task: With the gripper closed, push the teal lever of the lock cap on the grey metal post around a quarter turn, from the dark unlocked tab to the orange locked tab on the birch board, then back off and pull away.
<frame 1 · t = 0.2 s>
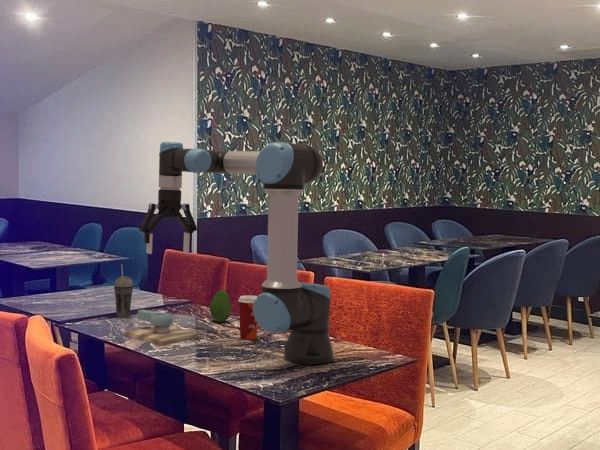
hand: (167, 252, 230), 28 cm above the table, fingers open, 13 cm apart
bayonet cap: (154, 317, 233), point 6 cm above the table, hinge at 0.0°
lock base: (161, 336, 231), on the table
avocado: (220, 322, 258), on the table
beverage cup: (123, 317, 259), on the table
paper cup: (248, 338, 234), on the table
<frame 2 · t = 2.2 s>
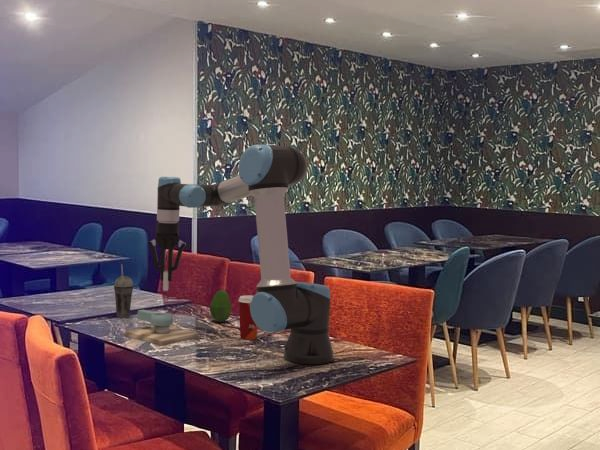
hand: (165, 290, 238), 14 cm above the table, fingers closed
nothing on the table moved.
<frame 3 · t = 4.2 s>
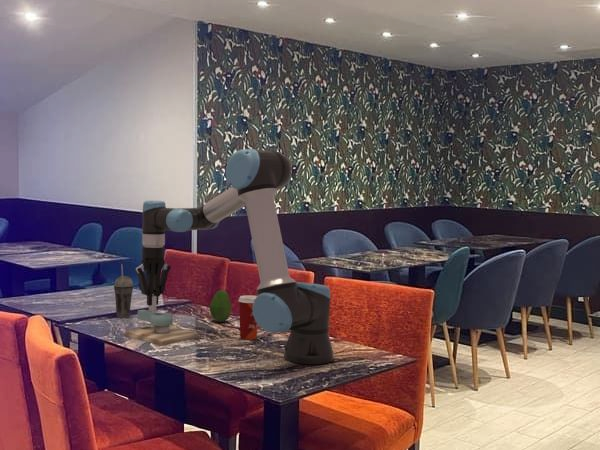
hand: (152, 314, 237), 6 cm above the table, fingers closed
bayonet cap: (154, 317, 233), point 6 cm above the table, hinge at 0.0°, touching gripper
everything else where it was.
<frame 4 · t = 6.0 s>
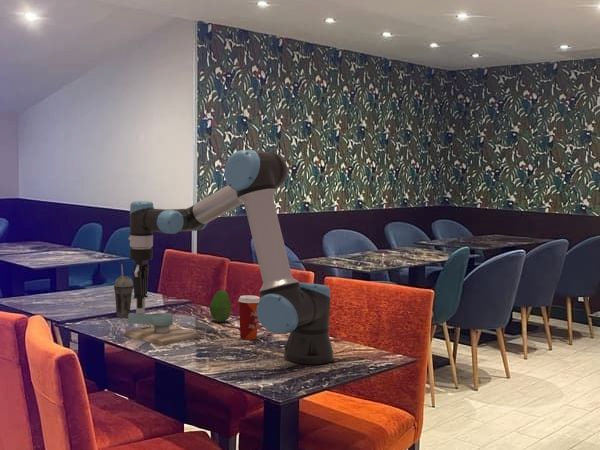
hand: (140, 317, 232), 6 cm above the table, fingers closed
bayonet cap: (150, 319, 231), point 6 cm above the table, hinge at 37.9°, touching gripper
everything else where it was.
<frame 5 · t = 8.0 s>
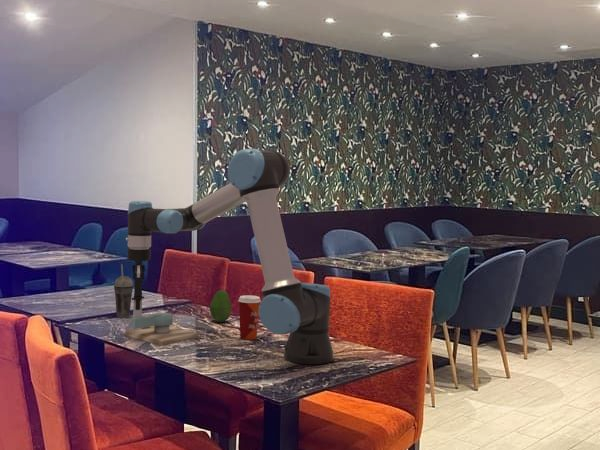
hand: (137, 318, 229), 6 cm above the table, fingers closed
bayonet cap: (152, 320, 228), point 6 cm above the table, hinge at 81.5°
everything else where it was.
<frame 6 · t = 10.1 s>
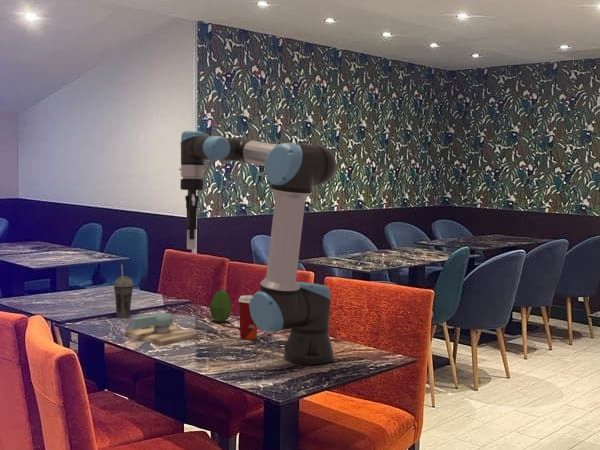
hand: (191, 248, 231), 30 cm above the table, fingers closed
nothing on the table moved.
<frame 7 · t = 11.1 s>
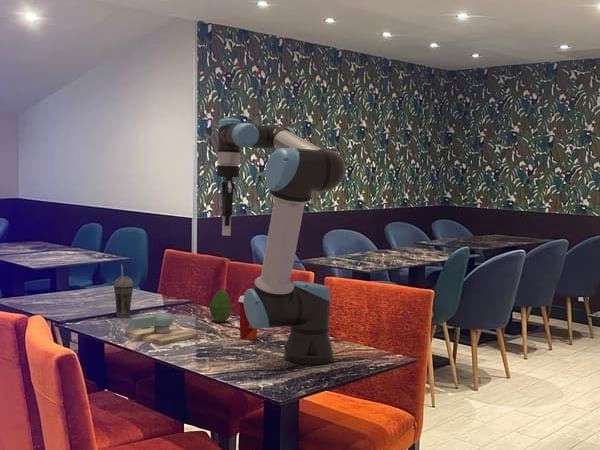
hand: (226, 235, 233), 34 cm above the table, fingers closed
nothing on the table moved.
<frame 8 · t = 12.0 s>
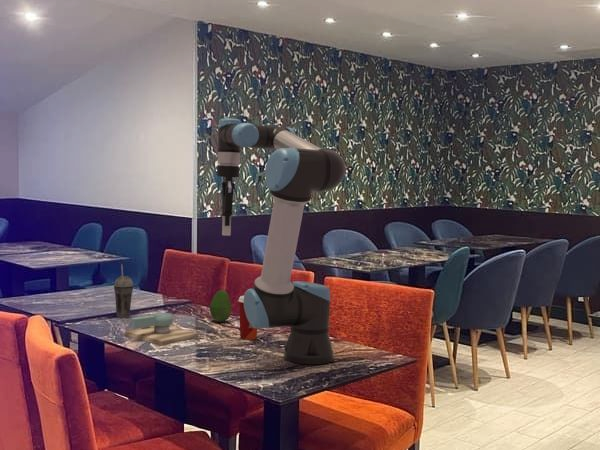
hand: (226, 235, 233), 34 cm above the table, fingers closed
nothing on the table moved.
at the end: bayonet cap at +82° (first picture: +0°); the gripper is holding nothing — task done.
